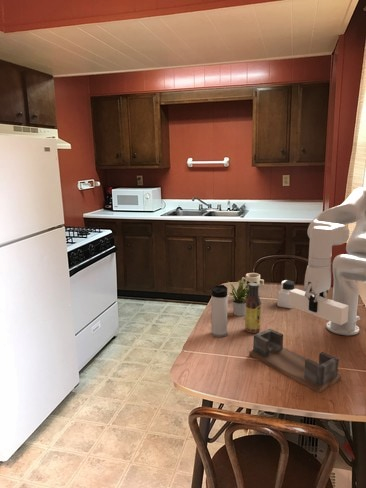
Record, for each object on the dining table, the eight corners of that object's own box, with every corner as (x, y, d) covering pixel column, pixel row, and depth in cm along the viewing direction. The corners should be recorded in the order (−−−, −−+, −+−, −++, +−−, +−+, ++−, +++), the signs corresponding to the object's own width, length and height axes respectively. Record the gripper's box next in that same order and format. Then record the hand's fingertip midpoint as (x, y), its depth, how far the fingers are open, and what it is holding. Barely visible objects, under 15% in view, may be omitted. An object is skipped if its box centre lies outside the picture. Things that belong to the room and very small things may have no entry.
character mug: (239, 301, 195) (240, 275, 192) (243, 296, 201) (243, 271, 198) (261, 303, 191) (262, 278, 188) (264, 298, 197) (265, 274, 194)
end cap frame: (271, 345, 150) (272, 327, 148) (340, 379, 127) (342, 358, 125) (249, 355, 143) (249, 336, 141) (318, 392, 120) (320, 370, 118)
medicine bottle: (296, 304, 190) (297, 280, 187) (291, 309, 184) (293, 284, 181) (281, 301, 193) (283, 278, 191) (277, 306, 188) (278, 282, 185)
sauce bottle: (260, 334, 159) (261, 287, 154) (244, 333, 160) (245, 286, 155) (260, 327, 165) (262, 282, 160) (245, 326, 166) (246, 281, 162)
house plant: (263, 319, 173) (264, 283, 170) (234, 323, 169) (235, 287, 166) (249, 307, 187) (250, 274, 183) (221, 310, 183) (222, 277, 179)
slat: (288, 305, 151) (289, 290, 150) (295, 303, 153) (295, 288, 152) (340, 325, 134) (342, 308, 132) (347, 321, 136) (348, 305, 135)
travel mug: (229, 331, 161) (230, 285, 157) (223, 338, 155) (224, 290, 151) (214, 329, 164) (215, 283, 159) (209, 335, 158) (209, 288, 153)
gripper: (324, 254, 147) (321, 300, 151) (295, 263, 137) (293, 312, 141) (342, 259, 141) (339, 306, 145) (314, 268, 131) (311, 319, 135)
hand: (316, 309), depth 143 cm, fingers closed on slat, 4 cm apart
